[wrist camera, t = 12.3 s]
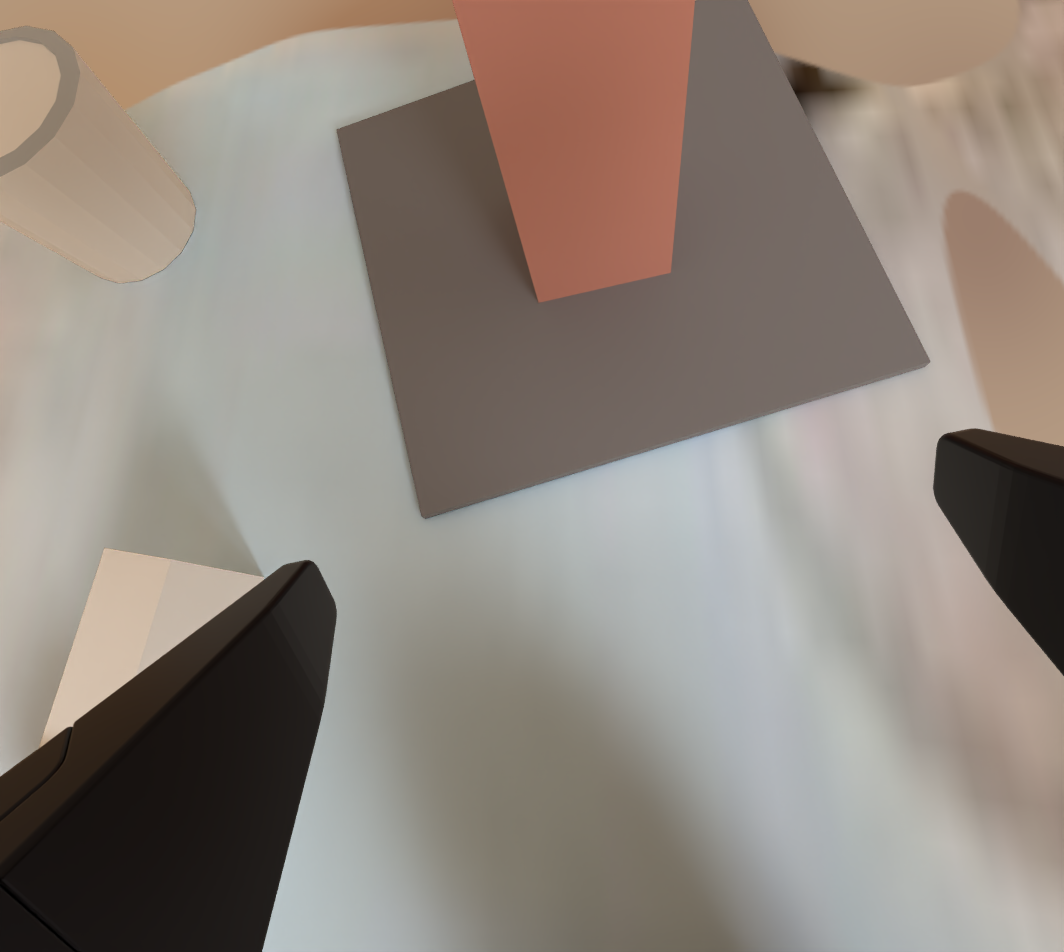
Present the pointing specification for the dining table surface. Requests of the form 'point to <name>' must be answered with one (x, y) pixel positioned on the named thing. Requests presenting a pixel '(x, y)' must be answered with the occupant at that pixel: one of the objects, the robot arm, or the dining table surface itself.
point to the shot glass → (82, 165)
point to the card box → (585, 130)
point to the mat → (617, 286)
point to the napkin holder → (136, 624)
